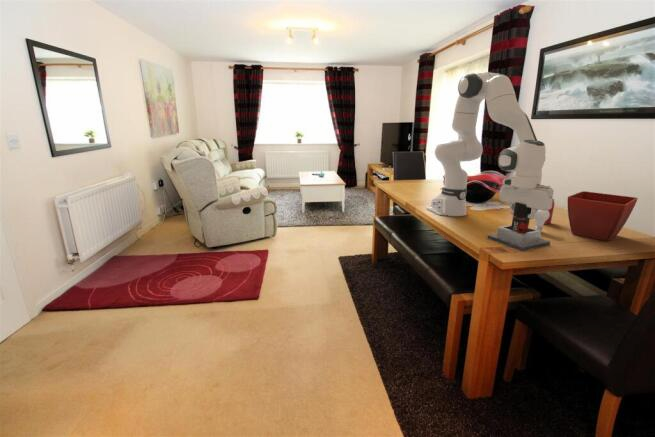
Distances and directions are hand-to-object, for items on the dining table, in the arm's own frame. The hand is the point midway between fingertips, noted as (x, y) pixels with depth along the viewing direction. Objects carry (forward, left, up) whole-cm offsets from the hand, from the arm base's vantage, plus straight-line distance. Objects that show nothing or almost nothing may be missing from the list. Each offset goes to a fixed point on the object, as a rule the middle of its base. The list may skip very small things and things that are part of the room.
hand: (521, 216), depth 129 cm
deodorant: (0, 0, -10) cm, 10 cm away
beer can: (-13, +35, -11) cm, 39 cm away
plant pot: (+8, +37, -11) cm, 39 cm away
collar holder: (0, 0, -11) cm, 11 cm away
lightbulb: (-5, +20, -11) cm, 23 cm away
